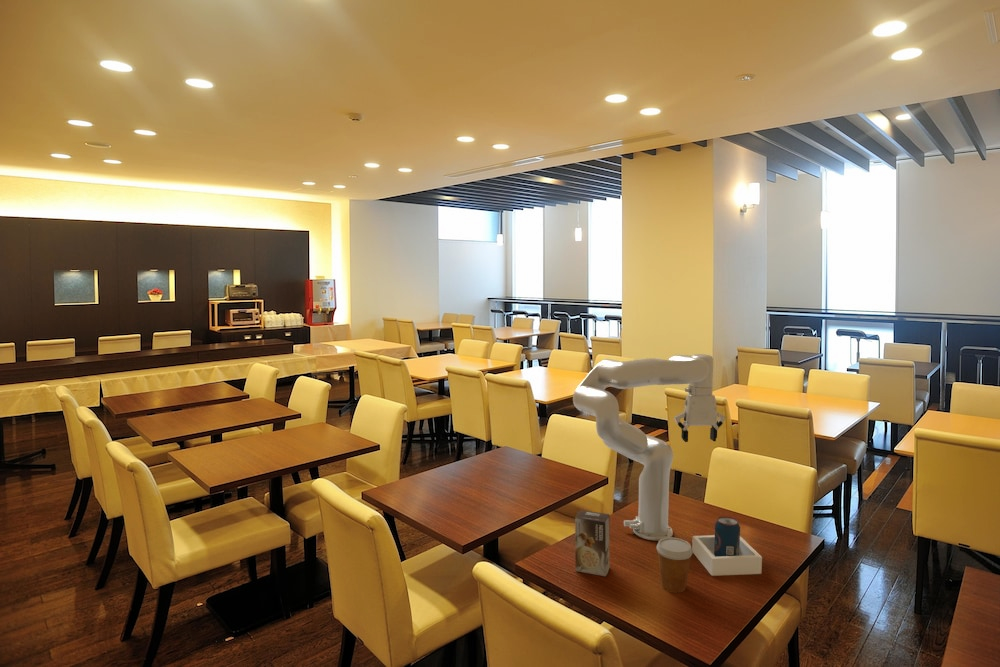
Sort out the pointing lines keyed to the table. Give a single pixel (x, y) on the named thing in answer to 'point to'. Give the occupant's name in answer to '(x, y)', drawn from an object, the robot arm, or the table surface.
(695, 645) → the table surface
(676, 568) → the disposable coffee cup
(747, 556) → the walled box
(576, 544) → the coffee box
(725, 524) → the soda can
